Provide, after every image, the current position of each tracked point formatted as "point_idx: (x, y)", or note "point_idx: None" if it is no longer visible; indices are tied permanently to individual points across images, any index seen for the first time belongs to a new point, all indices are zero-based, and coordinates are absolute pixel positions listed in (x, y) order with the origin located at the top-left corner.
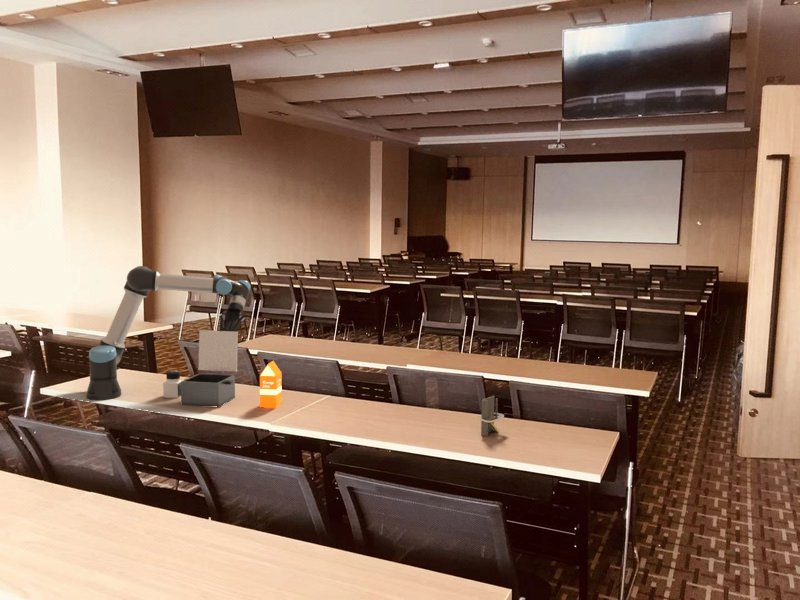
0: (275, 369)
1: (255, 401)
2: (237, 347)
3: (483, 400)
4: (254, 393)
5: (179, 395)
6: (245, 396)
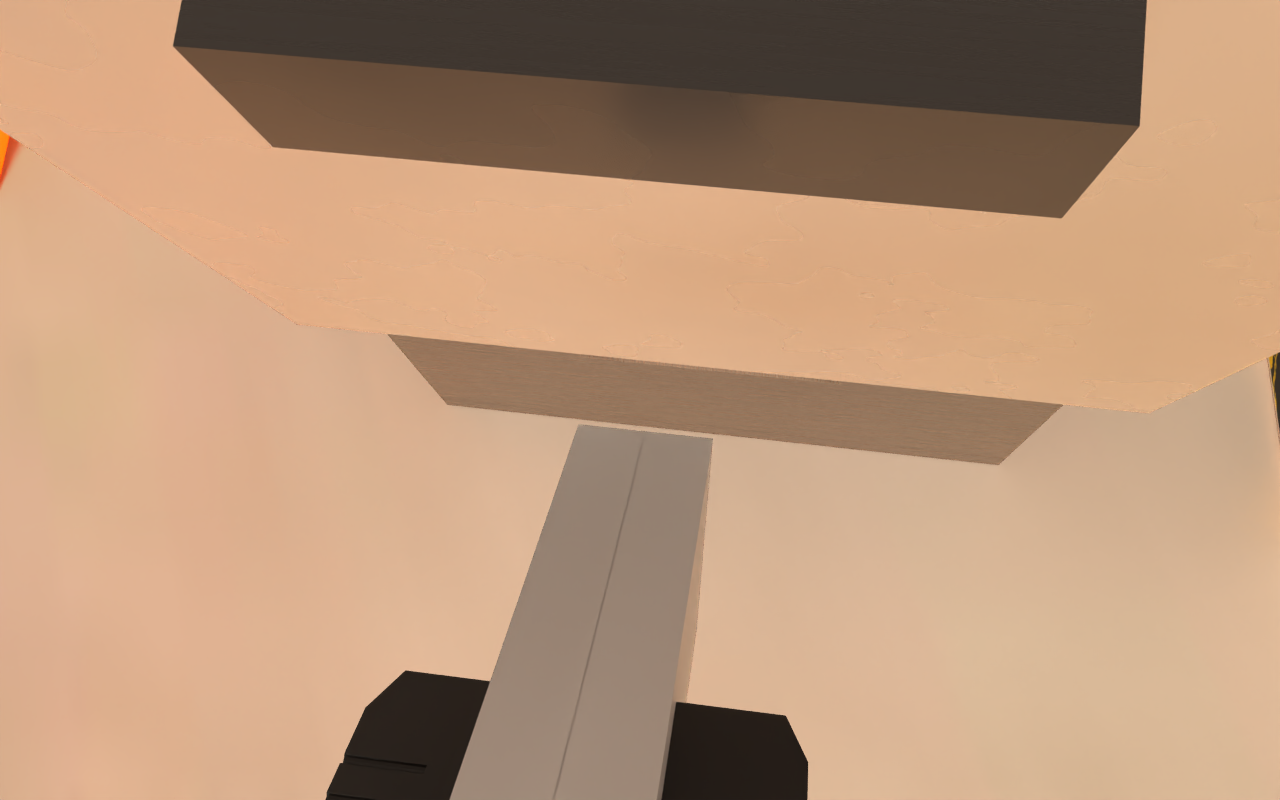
0: None
1: (135, 244)
2: (2, 120)
3: None
4: (217, 689)
5: (1276, 363)
6: (317, 494)
